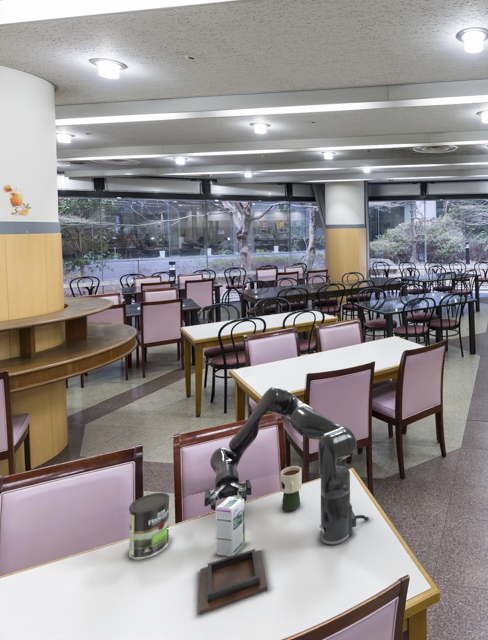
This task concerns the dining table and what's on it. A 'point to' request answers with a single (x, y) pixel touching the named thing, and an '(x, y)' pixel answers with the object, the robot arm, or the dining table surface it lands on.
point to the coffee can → (149, 525)
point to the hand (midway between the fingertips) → (229, 503)
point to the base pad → (231, 580)
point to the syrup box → (230, 526)
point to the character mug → (291, 487)
